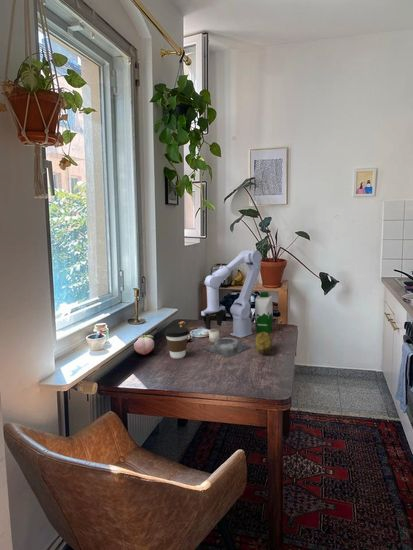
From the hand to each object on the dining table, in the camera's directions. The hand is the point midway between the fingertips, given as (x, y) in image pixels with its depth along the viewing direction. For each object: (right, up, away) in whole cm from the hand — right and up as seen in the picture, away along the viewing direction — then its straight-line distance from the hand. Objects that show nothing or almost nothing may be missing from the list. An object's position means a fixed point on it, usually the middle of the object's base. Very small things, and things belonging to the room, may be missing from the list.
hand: (213, 327), depth 200 cm
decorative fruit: (-32, -11, -16) cm, 37 cm away
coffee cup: (-16, -11, -19) cm, 27 cm away
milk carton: (+27, -4, +14) cm, 30 cm away
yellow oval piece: (+22, -9, -16) cm, 29 cm away
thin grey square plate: (+6, -9, -12) cm, 15 cm away
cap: (0, -7, +1) cm, 7 cm away
